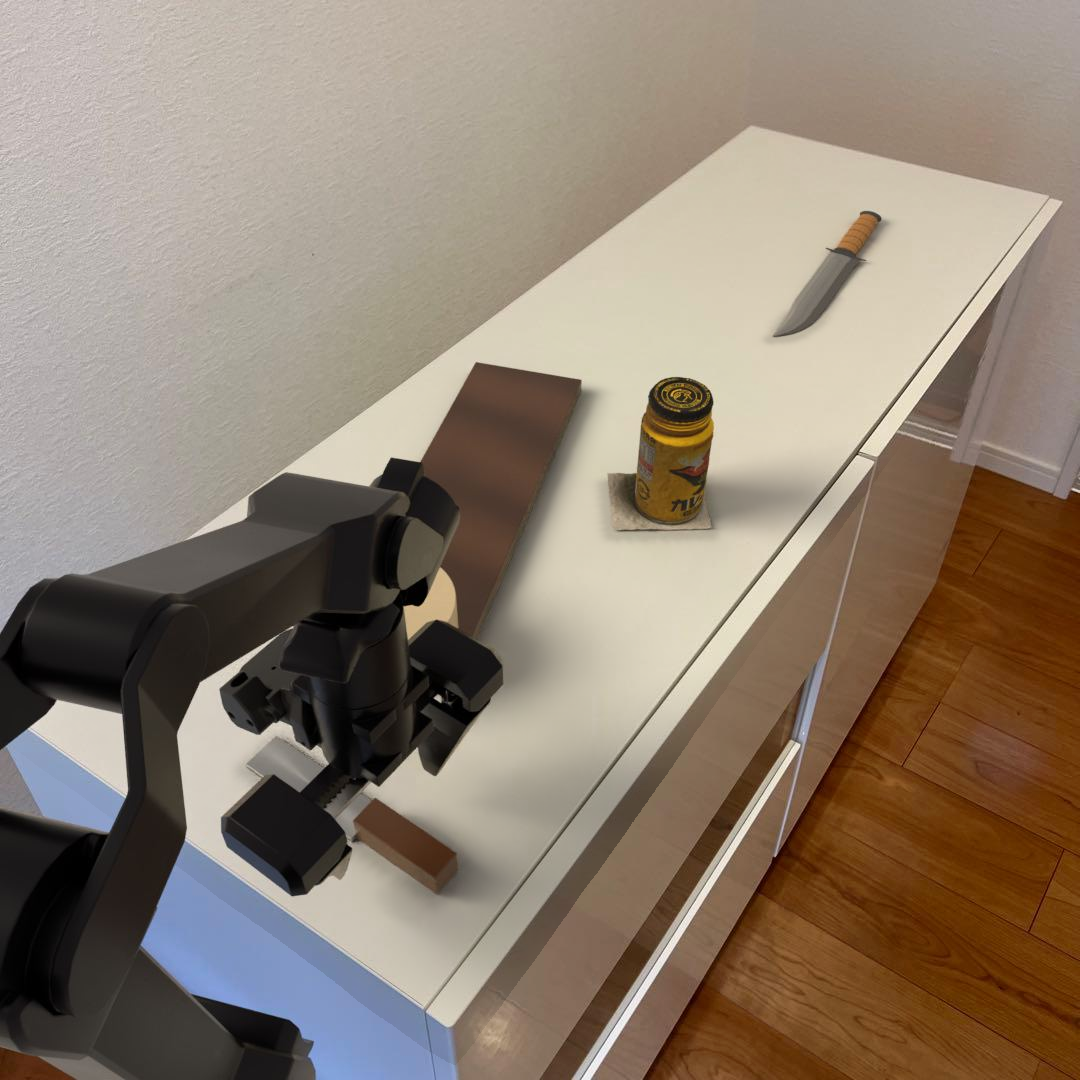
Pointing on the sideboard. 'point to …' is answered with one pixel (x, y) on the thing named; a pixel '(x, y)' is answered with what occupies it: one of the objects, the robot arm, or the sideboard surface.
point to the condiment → (668, 461)
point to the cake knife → (367, 820)
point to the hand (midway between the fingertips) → (385, 820)
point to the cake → (434, 605)
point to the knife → (828, 276)
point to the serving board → (495, 472)
